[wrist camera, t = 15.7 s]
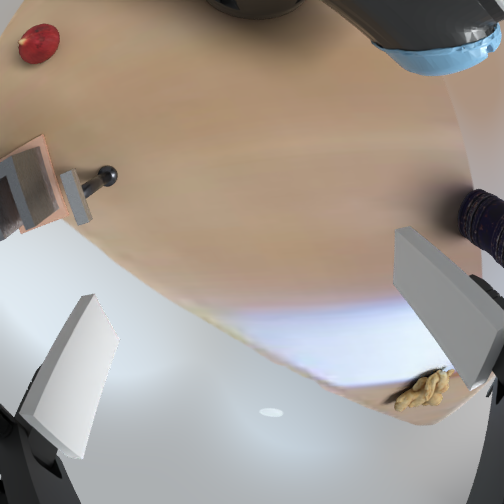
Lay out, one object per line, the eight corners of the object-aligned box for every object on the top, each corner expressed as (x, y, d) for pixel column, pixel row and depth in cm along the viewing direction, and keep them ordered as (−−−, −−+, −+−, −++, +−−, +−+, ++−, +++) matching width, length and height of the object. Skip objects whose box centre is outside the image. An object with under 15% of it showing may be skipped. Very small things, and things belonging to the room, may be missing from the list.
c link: (2, 167, 33) (-26, 179, 27) (39, 146, 33) (11, 155, 27) (21, 223, 38) (-3, 242, 31) (59, 208, 37) (35, 226, 31)
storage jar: (451, 236, 45) (503, 279, 32) (465, 184, 41) (526, 216, 27) (482, 240, 46) (531, 278, 33) (496, 193, 42) (551, 224, 28)
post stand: (93, 158, 35) (55, 176, 26) (110, 152, 35) (75, 168, 26) (106, 198, 38) (73, 227, 29) (123, 193, 38) (93, 220, 29)
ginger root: (460, 368, 63) (467, 392, 56) (418, 394, 72) (423, 417, 66) (433, 357, 59) (441, 386, 53) (386, 387, 68) (391, 414, 62)
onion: (59, 21, 25) (29, 10, 18) (75, 44, 28) (45, 35, 20) (32, 49, 26) (0, 45, 19) (47, 73, 29) (14, 71, 22)
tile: (-2, 161, 33) (-4, 161, 32) (43, 134, 33) (41, 134, 32) (22, 232, 39) (21, 233, 38) (69, 214, 39) (67, 216, 38)
